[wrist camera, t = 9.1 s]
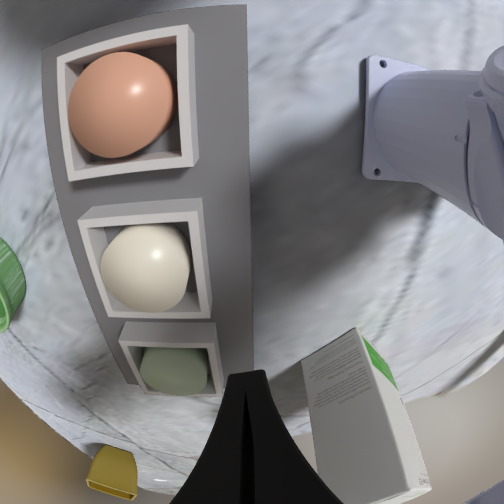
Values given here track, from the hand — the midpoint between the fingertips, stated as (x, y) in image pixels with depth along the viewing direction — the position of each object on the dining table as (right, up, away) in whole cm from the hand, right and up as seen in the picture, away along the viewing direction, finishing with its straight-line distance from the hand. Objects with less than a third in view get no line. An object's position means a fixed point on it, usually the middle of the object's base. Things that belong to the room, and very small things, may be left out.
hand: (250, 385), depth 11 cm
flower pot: (-24, -31, +29) cm, 49 cm away
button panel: (-6, +6, +8) cm, 12 cm away
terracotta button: (-6, +13, +2) cm, 14 cm away
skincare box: (+9, -5, +16) cm, 19 cm away
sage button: (-6, -3, +11) cm, 13 cm away
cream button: (-6, +5, +6) cm, 10 cm away
